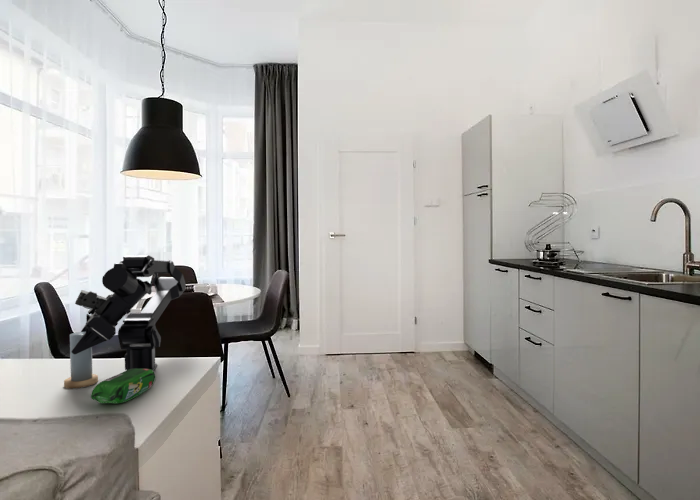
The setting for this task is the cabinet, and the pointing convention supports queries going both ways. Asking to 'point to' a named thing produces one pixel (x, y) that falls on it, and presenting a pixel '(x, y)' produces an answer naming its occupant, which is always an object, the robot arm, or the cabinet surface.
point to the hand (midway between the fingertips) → (73, 348)
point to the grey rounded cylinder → (80, 360)
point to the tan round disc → (80, 382)
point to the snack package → (124, 386)
